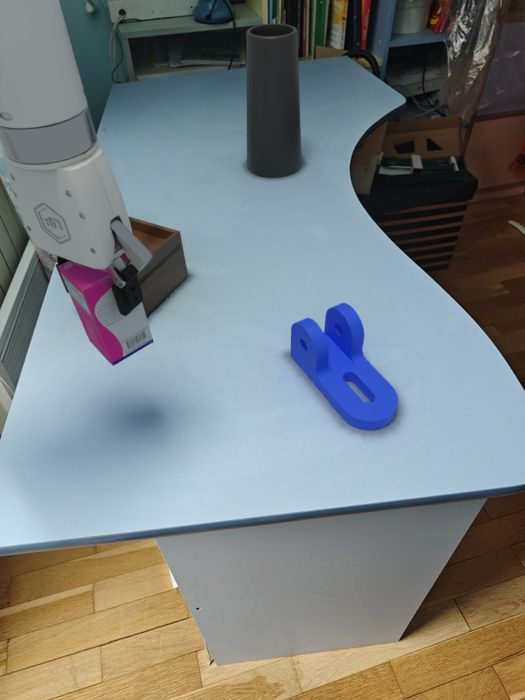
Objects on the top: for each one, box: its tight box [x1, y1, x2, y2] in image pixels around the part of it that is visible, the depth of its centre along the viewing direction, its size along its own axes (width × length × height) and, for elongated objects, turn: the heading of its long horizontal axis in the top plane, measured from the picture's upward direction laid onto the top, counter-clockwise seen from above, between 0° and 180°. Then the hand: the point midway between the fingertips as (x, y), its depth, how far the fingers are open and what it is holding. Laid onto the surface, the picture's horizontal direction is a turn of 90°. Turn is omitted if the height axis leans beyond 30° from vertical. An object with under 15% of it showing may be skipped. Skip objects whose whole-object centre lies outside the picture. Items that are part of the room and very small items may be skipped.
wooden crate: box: [114, 215, 189, 319], centre depth 85 cm, size 12×16×10 cm
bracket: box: [290, 302, 399, 431], centre depth 69 cm, size 18×8×9 cm, turn 29°
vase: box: [245, 23, 303, 179], centre depth 111 cm, size 14×14×29 cm
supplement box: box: [58, 257, 154, 367], centre depth 54 cm, size 6×6×12 cm
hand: (105, 296), depth 53 cm, fingers closed on supplement box, 7 cm apart
